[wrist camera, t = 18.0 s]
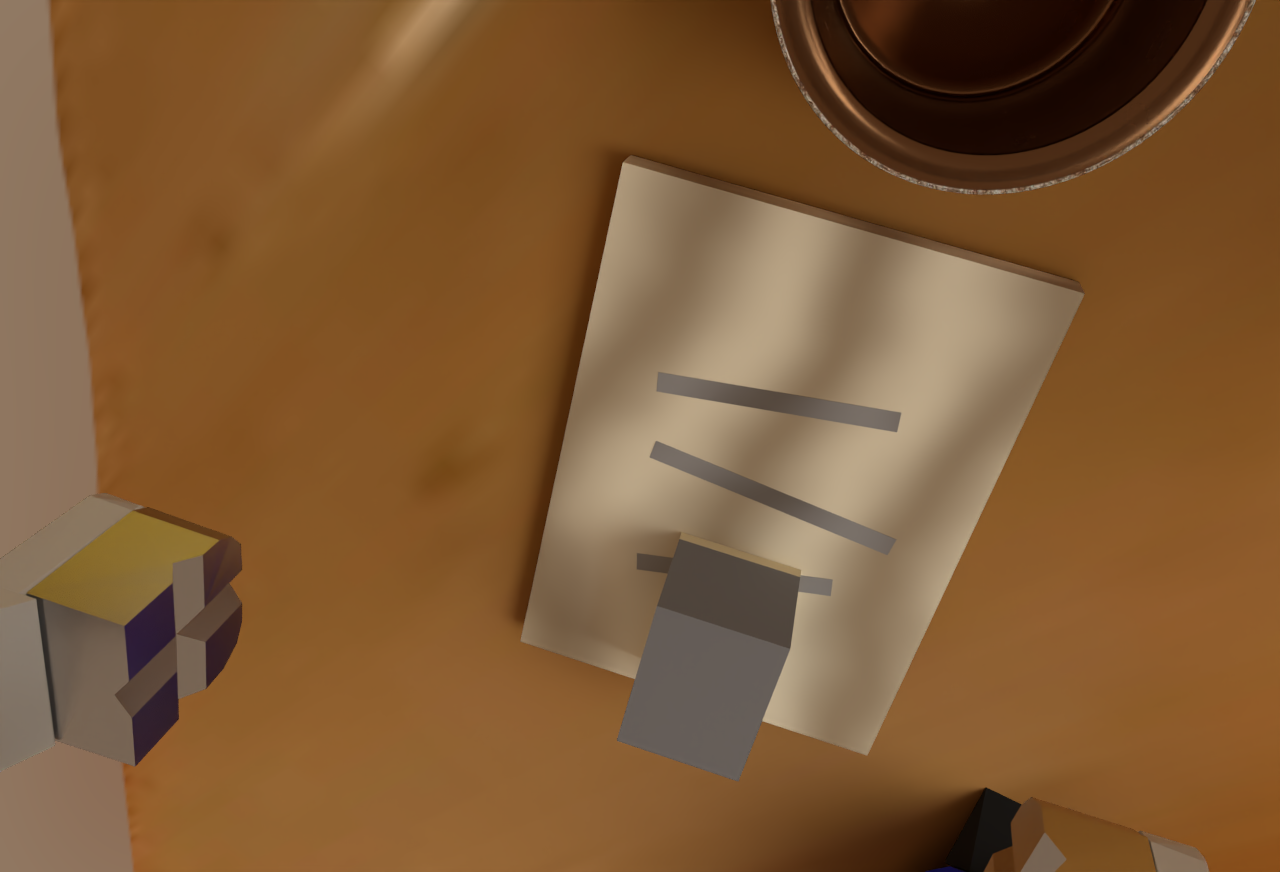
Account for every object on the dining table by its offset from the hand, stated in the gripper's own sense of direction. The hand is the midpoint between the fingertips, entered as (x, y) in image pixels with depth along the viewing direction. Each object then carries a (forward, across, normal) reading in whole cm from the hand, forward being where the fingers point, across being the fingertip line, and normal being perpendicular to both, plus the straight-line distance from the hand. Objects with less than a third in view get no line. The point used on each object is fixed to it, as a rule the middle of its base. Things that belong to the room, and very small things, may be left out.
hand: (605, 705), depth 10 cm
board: (+28, -1, +13) cm, 31 cm away
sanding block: (+27, -1, +20) cm, 33 cm away
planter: (+28, -3, -7) cm, 29 cm away
